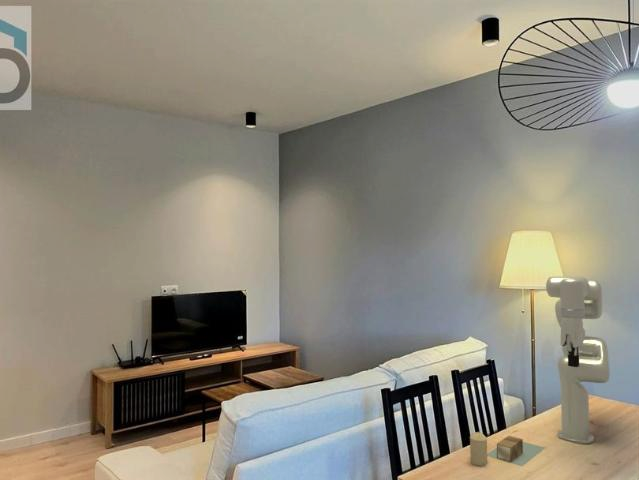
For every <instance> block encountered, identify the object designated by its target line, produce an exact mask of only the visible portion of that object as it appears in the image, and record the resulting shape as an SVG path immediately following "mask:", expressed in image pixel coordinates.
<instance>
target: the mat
mask: <svg viewBox="0 0 639 480" xmlns="http://www.w3.org/2000/svg"><path fill="white" fill-rule="evenodd" d="M545 449H546V447H544V446H540V445H537V444H533V443H530V442H524V441H523V454H521V455H520V456H519V457H517V458H516V459H515V460H513V461H512V462H509V461H505V460H502V459H499V458H497V447H495V448H494V449H492V450H490V452H487V457H490V458H494V459H497V460H500V461H503V462H505V463H506V462H507V463H510V464H513V465H516V466H520V467H523V466H525V465H527V463H529V462H530V461H531V460H532V459H533V458H535V457H536V456H537V455H539V453H541V452H542V451H543V450H545Z"/></svg>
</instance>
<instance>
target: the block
mask: <svg viewBox="0 0 639 480" xmlns="http://www.w3.org/2000/svg"><path fill="white" fill-rule="evenodd" d="M523 440H524V439H523V438H520V437H516V436H512V435H507V436H505V438H502V439H501V440H500V441H498V442H497V443H496V448H497V458H499V459H502V460H501V461H503V460H505V461H504V462H506V461H509V462H512V461H513V460H515V459H516V458H517V457H519V456H520V455H521V454H523V442H524V441H523ZM499 459H498V460H499ZM509 462H508V463H509Z"/></svg>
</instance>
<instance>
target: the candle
mask: <svg viewBox="0 0 639 480" xmlns="http://www.w3.org/2000/svg"><path fill="white" fill-rule="evenodd" d="M469 442H470V443H469V444H470V445H469V446H470V447H469V450H470V452H469V454H470V456H469V457H470V463H471V464H472V465H474V466H477V467H485V466H487V464H488V456H487V454H488V438H487V436H485V434H483V433H482V432H480V431H477V432H476V431H475V432H473V434H471V435H470V436H469Z"/></svg>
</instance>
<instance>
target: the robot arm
mask: <svg viewBox="0 0 639 480" xmlns="http://www.w3.org/2000/svg"><path fill="white" fill-rule="evenodd" d="M545 288H546V293H547V294H548V296H549V297H550V298H559V299H558V300H557V301H556V303H555V306H554V310H555V312H554V313H555V316H556V321H557V323H558V325H559V327H560V346H561V349H562V354H563V356H561V357H559V359H558V361H557V369H558V375H559V381H560V403H561V404H560V405H561V406H560V410H561V416H560V417H561V429H559V430H558V431H557V433H556V434H557V437H558V438H559V439H561V440H563V441H565V442H569V443H573V444H579V445H580V444H582V445H583V444H591V443H594V442H595V437H594V435H593V434H592V433H590V417H589V416H590V406H589V405H590V402H589V400H590V399H589V392H588V390H587V388H586V387H585V386H584V385H583V384H582V383H585V382H586V383H594V384H606V383H607V382H609V380H610V375H611V374H610V372H611V371H610V361H609V359H610V358H609V351H608V350H609V349H608V345H607V343H606V341H605V340H604V339H603V338H601V337H598V336H588V335H587V336H586V330H585V328H584V325H583V324H584V322H583V320H597V319H601V316H602V314H603V289H602V286H601V283H600V282H599V281H598V280H596V279H592V278H591V279H588V278H586V277H583V276H549V277H548V279H547V280H546V283H545Z"/></svg>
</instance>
